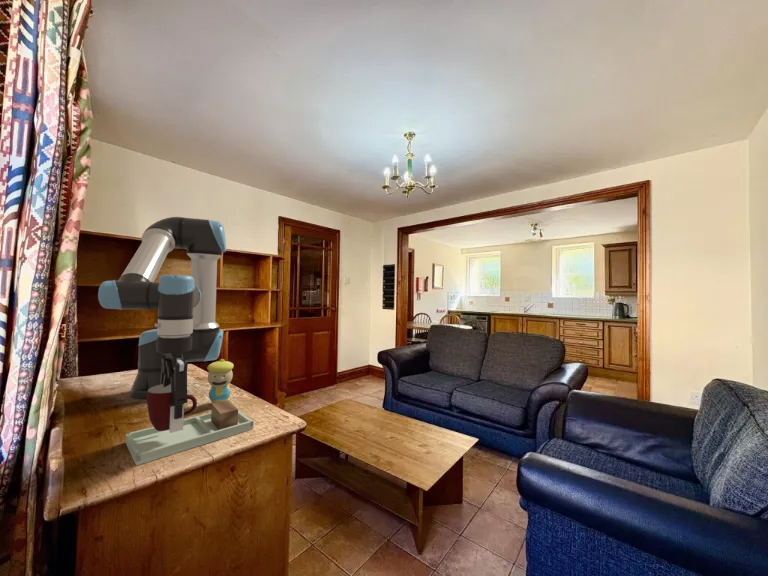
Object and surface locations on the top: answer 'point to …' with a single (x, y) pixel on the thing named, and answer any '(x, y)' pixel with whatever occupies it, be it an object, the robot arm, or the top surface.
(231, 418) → the brown rectangular block
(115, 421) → the top surface
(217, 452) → the top surface
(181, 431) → the jig
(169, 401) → the mug
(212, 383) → the toy
